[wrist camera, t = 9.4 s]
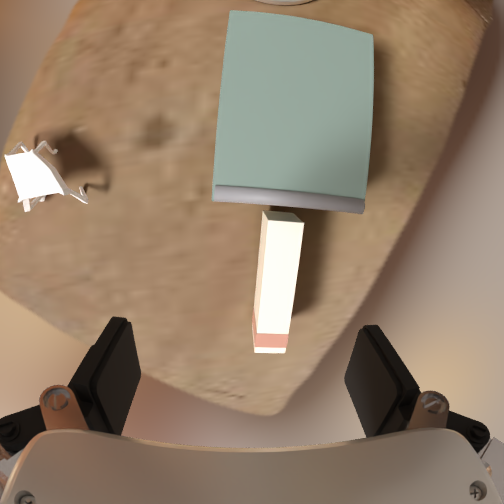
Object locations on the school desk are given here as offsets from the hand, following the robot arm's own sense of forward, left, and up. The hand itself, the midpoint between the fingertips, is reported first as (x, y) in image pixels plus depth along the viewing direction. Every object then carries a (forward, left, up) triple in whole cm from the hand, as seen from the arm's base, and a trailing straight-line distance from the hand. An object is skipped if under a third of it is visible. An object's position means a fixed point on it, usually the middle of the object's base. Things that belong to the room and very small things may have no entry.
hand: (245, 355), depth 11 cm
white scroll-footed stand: (-6, -22, -20) cm, 30 cm away
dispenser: (-12, +3, -20) cm, 24 cm away
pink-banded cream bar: (+4, +3, -19) cm, 20 cm away
